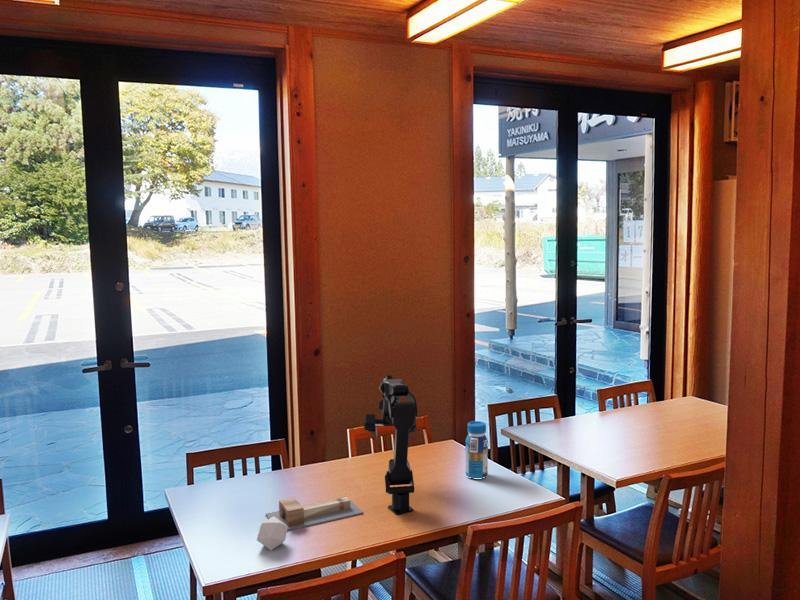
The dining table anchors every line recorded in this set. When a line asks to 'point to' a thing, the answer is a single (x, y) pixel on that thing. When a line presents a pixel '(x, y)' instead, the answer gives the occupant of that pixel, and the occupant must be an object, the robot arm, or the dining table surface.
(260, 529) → the die
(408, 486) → the robot arm
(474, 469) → the beverage bottle
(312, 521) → the felt mat
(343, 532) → the dining table surface
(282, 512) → the tan block
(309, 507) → the pale wooden bar
